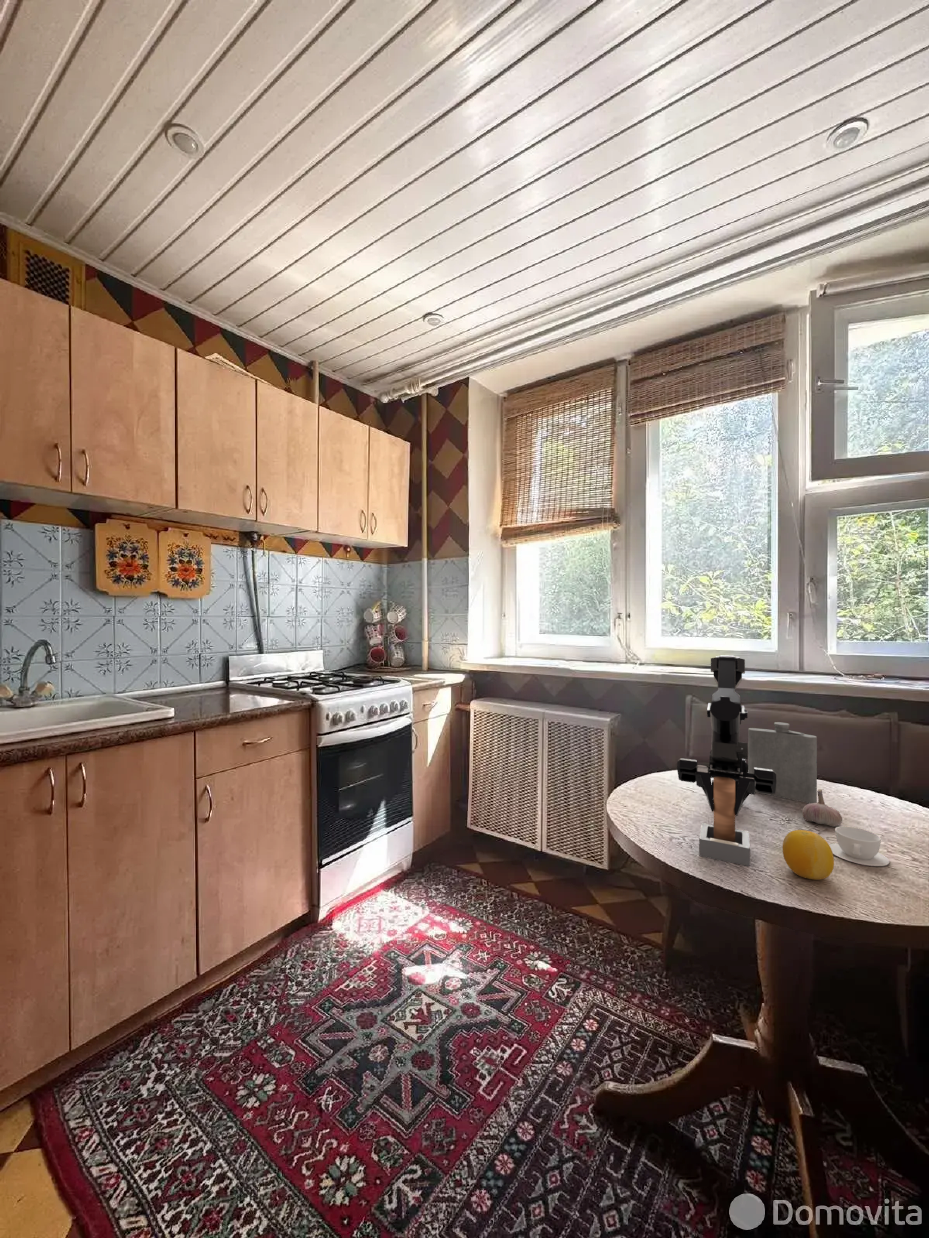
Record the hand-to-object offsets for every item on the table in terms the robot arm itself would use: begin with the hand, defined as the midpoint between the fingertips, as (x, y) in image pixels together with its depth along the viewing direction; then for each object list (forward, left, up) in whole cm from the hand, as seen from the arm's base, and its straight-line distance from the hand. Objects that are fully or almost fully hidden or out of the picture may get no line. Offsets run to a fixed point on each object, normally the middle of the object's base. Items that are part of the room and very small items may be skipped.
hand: (724, 812), depth 102 cm
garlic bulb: (-20, -29, -9) cm, 37 cm away
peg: (0, -1, -7) cm, 7 cm away
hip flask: (-13, -46, -9) cm, 49 cm away
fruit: (-14, +2, -9) cm, 17 cm away
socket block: (0, -1, -9) cm, 9 cm away
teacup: (-24, -13, -9) cm, 29 cm away
